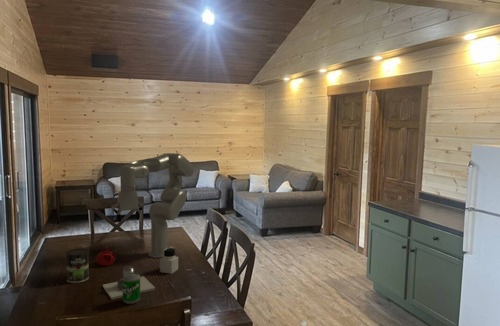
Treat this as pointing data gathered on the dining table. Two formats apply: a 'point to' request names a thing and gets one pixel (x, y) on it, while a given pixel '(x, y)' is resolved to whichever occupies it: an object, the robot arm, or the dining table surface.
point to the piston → (128, 269)
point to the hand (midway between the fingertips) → (128, 220)
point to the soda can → (131, 288)
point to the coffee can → (77, 265)
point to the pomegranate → (105, 258)
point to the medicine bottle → (169, 261)
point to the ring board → (119, 292)
